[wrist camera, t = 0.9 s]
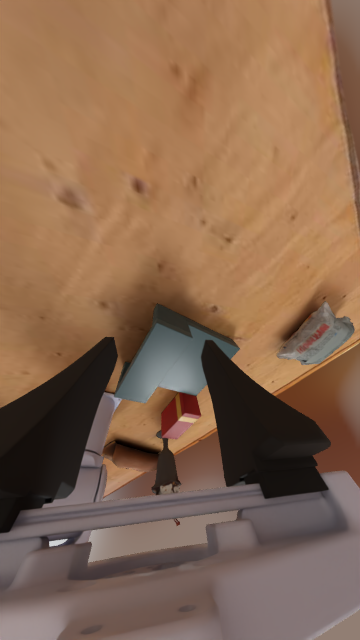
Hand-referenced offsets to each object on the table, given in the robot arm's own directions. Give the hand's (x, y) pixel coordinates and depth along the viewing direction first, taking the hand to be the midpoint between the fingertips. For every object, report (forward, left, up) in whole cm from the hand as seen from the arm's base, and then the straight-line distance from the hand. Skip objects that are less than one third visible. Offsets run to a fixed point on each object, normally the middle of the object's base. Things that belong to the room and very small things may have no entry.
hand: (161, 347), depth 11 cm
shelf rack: (-7, -8, -10) cm, 15 cm away
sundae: (-35, -20, -11) cm, 42 cm away
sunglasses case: (-47, -15, -11) cm, 51 cm away
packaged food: (+8, -28, -11) cm, 31 cm away
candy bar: (-21, -16, -10) cm, 28 cm away
